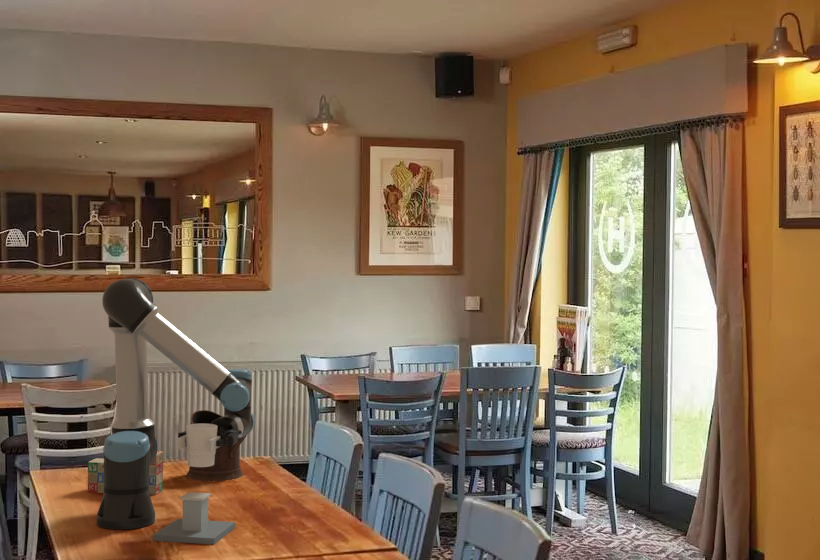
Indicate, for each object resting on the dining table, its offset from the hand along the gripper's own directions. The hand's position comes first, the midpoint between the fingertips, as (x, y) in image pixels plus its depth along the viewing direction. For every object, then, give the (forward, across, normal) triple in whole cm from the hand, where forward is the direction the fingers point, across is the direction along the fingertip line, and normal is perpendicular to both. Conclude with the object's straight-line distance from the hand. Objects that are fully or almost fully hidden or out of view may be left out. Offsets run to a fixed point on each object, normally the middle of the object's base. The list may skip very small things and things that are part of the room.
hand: (194, 444), depth 259 cm
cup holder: (-72, +19, -24) cm, 78 cm away
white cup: (-5, 0, -6) cm, 8 cm away
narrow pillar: (-5, +1, -24) cm, 24 cm away
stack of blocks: (-45, +39, -25) cm, 65 cm away
